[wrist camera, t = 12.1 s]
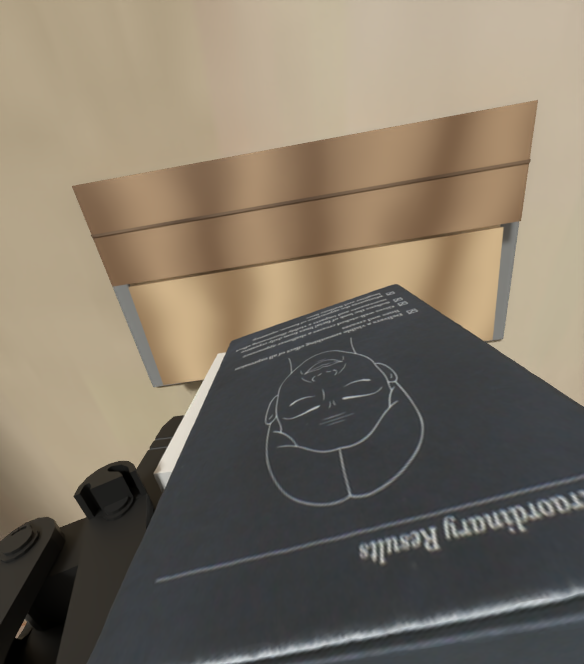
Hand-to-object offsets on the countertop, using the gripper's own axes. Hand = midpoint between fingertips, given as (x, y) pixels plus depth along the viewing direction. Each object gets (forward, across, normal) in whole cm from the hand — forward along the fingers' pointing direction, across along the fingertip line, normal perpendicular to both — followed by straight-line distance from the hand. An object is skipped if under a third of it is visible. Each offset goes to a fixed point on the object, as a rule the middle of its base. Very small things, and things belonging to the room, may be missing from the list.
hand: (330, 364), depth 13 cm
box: (+1, 0, 0) cm, 1 cm away
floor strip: (+9, 0, +7) cm, 11 cm away
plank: (+8, 0, 0) cm, 8 cm away
